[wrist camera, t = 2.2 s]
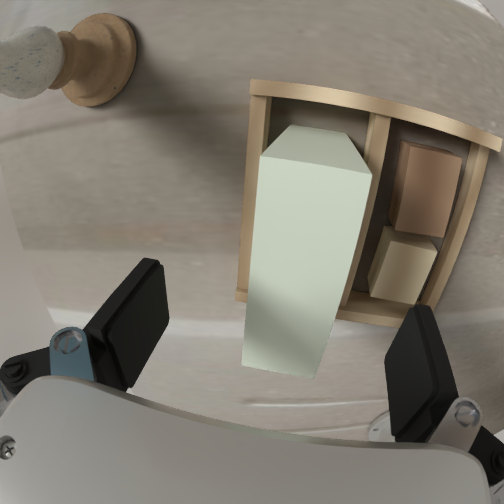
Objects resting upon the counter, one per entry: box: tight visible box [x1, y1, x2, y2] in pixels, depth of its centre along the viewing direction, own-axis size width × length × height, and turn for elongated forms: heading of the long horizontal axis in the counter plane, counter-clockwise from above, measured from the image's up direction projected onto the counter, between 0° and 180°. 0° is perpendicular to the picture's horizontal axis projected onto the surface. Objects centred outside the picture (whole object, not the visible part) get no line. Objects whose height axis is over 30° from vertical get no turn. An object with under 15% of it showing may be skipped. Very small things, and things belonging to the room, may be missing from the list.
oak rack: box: [235, 79, 502, 328], centre depth 21 cm, size 18×17×3 cm
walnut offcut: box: [388, 140, 462, 238], centre depth 20 cm, size 4×6×3 cm, turn 178°
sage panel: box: [242, 124, 372, 378], centre depth 18 cm, size 4×11×12 cm, turn 175°
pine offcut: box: [367, 225, 437, 305], centre depth 23 cm, size 4×5×3 cm
